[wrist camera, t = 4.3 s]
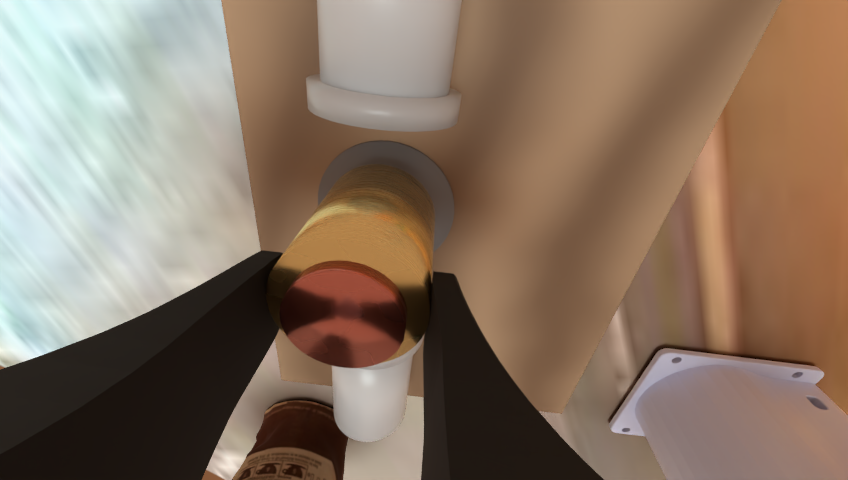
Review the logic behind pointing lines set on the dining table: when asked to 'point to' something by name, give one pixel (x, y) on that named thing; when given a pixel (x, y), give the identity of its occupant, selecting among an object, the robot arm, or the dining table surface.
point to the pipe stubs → (392, 111)
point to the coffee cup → (296, 445)
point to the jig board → (515, 156)
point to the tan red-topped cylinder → (359, 271)
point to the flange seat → (406, 161)
